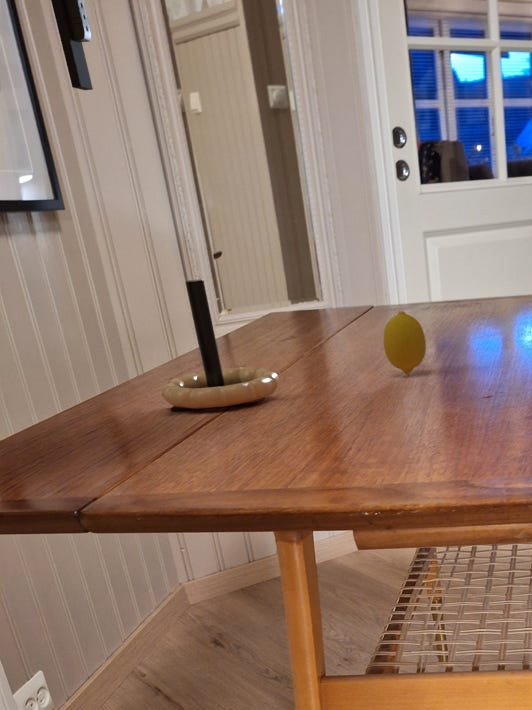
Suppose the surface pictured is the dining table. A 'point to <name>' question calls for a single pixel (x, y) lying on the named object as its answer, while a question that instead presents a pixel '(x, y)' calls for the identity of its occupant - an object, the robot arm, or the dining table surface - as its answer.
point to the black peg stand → (206, 341)
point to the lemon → (404, 342)
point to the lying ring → (221, 388)
